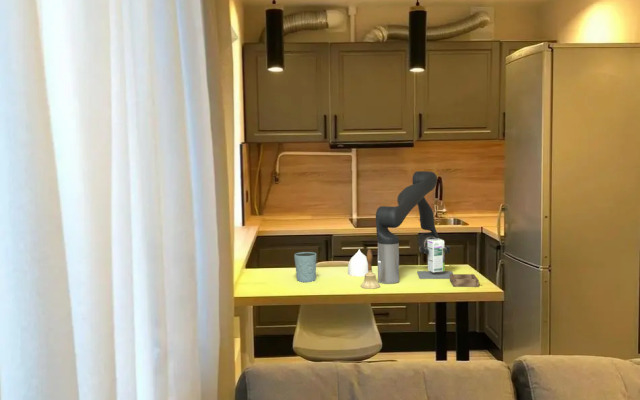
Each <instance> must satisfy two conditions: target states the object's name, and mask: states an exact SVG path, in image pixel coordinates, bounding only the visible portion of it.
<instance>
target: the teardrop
mask: <svg viewBox="0 0 640 400" xmlns="http://www.w3.org/2000/svg"><path fill="white" fill-rule="evenodd" d="M347 265H348V266H347V275H349V276H352V277H365V274H366V273H368V262H367V255H365V254H364V253H363V252H361V249H360V248H359V249H358V251H357V252H356V253H355V254H354V255H353V256H352V257H351V258H350V259H349V262H348V264H347Z"/></svg>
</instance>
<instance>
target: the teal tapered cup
mask: <svg viewBox="0 0 640 400" xmlns="http://www.w3.org/2000/svg"><path fill="white" fill-rule="evenodd" d="M293 255H294V256H293V257H294V265H295V272H296V273H295V274H296V275H295V276H296V281H297V282H298V281H299V282H300V283H311V282H312V281H313V282H316V279H317V253H316V252H313V251H301V252H296V253H294V254H293ZM299 282H298V283H299Z"/></svg>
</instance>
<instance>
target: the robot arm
mask: <svg viewBox="0 0 640 400" xmlns="http://www.w3.org/2000/svg"><path fill="white" fill-rule="evenodd" d="M411 180H412V181H411V182H412V184H411V185H408V186H406V187H405V188H403V189H402V191H400V193H399V194H398V196H397V206H396V205H395V206H385V205H381V206H379V207H378V208H377V209H376V212H375V227H376V228H375V229H376V238H377V282H378V284H379V283H380V284H397V283H399V282H400V251H399V250H400V243H399V242H400V241H399V240H400V239H399V236H398V235H396V234H394V233H392V232H391V231H390V230H389V229H393V228H394V229H395V228H399V227H400V226H401V225H402V223H403V222H404V220H405V219H406V218H407V216H408V215H409V214H410V213H411V211H412V210H413V209H414V207H416V206H417V209H418V213H419V214H418V215H419V224H420V225H419V226H420V228H421V229H422V230H425V231H429V232H422V233H420V234H419V235H418V237H417V238H418V239H417V242H418V244H419V245H418V247H419V248H418V250H419V253H420V254H423V253H424V254H426V255H427V256H428V255H429V250H428V243H427V242H428V241H427V240H430V239H440V237H439V234H438V232H437V229H436V225H435V217H434V216H435V215H434V212H433V208H432V207H431V205H430V204H429V203H428V201H427V200H426V198H425V196H426V195H427V194H429V193H430V192H432V191H433V190H434V189H435V187H436V186H437V183H438V176H437V174H436V173H435V172H433V171H428V170H427V171H421V170H420V171H415V172H414V173H413V175H412V179H411ZM450 253H451V246H450V245H447V244H446V245H444V256H445V255H447V254H450Z"/></svg>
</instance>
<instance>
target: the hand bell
mask: <svg viewBox="0 0 640 400" xmlns="http://www.w3.org/2000/svg"><path fill="white" fill-rule="evenodd" d="M366 257H367V262H368V273H366V274H365V276H364V279H363V282H362V284H361V285H360V287H361V288H363V289H365V290H374V289H379V288H380V287H381V285H380V284H379V283H378V279H377V276H376V273H374V272H373V269H372V268H373V265H372V264H373V260H374V259H373V258H374V257H373V253H372V250H371V249H367V252H366Z"/></svg>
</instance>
